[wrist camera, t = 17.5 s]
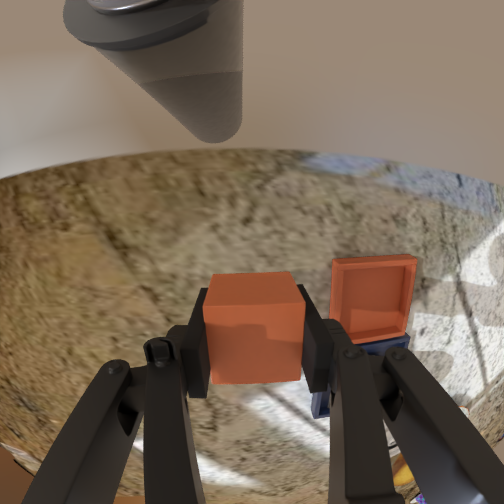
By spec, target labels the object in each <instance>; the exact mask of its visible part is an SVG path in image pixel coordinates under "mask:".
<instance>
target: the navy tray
mask: <svg viewBox="0 0 504 504" xmlns="http://www.w3.org/2000/svg"><path fill="white" fill-rule="evenodd" d="M409 340H410V336H409V335H408V334H407V333H406V332H405V335H403V336H398V337H393V338H388V339H382V340H377V341H371V342H365V343H359V344H354V345H357V346H360V347H362V348H364V349H365V350H366V352H367V354H368V355H375V356H384V355H385V351H386V350H387V349H388V348H391V347H396V346H399V347H404V348H406V349H407V348H408V344H409ZM330 392H331V388H330V385H329V383H328V387H327V391H326V392H318V393H313V398H312V406H311V411H312V415H313V418H314V419H318V418H324V417H330V408H327V406H328V401H329V397H330Z"/></svg>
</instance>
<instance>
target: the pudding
mask: <svg viewBox="0 0 504 504" xmlns="http://www.w3.org/2000/svg"><path fill="white" fill-rule="evenodd" d="M415 502H418V503H420V504H427V503H426V501H425V499H424V497H423V495H422V493H421V494H419V495H418V496H417V497H415V498H414V499H413V500H412V501H411V502H410V503H415Z"/></svg>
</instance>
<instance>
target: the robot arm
mask: <svg viewBox="0 0 504 504" xmlns="http://www.w3.org/2000/svg"><path fill="white" fill-rule="evenodd" d="M86 1H87V2H88V3H89V4H90V5H91V6H92V7H93V8H94V9H95V10H96V11H98V12H100V13H104V14H109V15H121V14H129V13H134V12H138V11H142V10H146V9H149V8H152V7H155V6H157V5H160V4H162V3H165V2H167V1H169V0H86ZM297 287H298V289H299V291H300V293H301V295H302V297H303V298H304V300H305V302H306V309H305V324H304V339H303V353H302V368H303V371H304V374H305V377H306V381H307V384H308V387H309V390H310V393H318V392H326V391H327V387H328V383H329V385H330V388H331V392H330V397H329V401H328V406H327V408H330V467H329V491H328V504H405V500H404V497H403V496H402V494H398V493H396V491H395V488H394V481H393V473H392V466H391V460H390V454H389V448H388V442H387V437H386V431H385V426H384V422H385V424H386V426H387V427H388V429H389V431H390V433H391V435H392V437H393V439H394V440H395V442H396V444H397V446H398V448H399V450H400V452H401V454H402V456H403V458H404V459H405V461H406V463H407V465H408V467H409V469H410V471H411V473H412V475H413V477H414V479H415V481H416V483H417V485H418V487H419V489H420V491H421V493H422V495H423V497H424V499H425V501H426V503H427V504H504V465H503V464H502V462H501V461H500V460H499V458H498V457H497V455H496V454H495V453H494V451H493V450H492V449H491V447H490V446H489V445H488V443H487V442H486V441H485V439H484V438H483V437H482V435H481V434H480V433H479V432H478V430H477V429H476V428H475V426H474V425H473V424H472V423H471V421H470V420H469V419H468V418H467V416H466V415H465V414H464V413H463V412H462V410H461V409H460V408H459V407H458V405H457V404H456V403H455V402H454V401H453V399H452V398H451V397H450V396H449V395H448V393H447V392H446V391H445V390H444V389H443V387H442V386H441V385H440V384H439V383H438V382H437V380H436V379H435V378H434V377H433V376H432V375H431V374H430V372H429V371H428V370H427V369H426V368H425V367H424V366H423V364H422V363H421V362H420V361H419V360H418V359H417V358H416V357H415V355H414V354H413V353H412V352H411V351H410V350H408V349H406V348H404V347H399V346H396V347H391V348H388V349H387V350H386V351H385V355H384V356H373V355H368V354H367V352H366V350H365V349H364V348H362V347H360V346H357V345H354V344H353V342H352V340H351V339H350V337H349V336H348V334H347V333H346V331H345V330H344V329H343V326H342V325H341V323H340V322H338V321H337V320H335V319H334V318H332V319H322V318H321V317H320V315H319V313H318V311H317V309H316V308H315V306H314V304H313V302H312V300H311V299H310V297H309V295H308V293H307V291H306V290H305V288H304V286H303V284H299V285H297ZM207 291H208V288H201V290H200V293H199V295H198V298H197V301H196V304H195V306H194V309H193V312H192V315H191V318H190V321H189V323H188V325H175V326H173V327H172V328H171V329H170V330H169V331H168V333H167V335H166V337H157V338H153V339H150V340H148V341H147V342H146V343H145V344H144V346H143V348H144V352H145V356H146V360H147V365H146V366H141V367H134V368H130V366H129V363H128V362H126V361H124V360H121V359H117V360H111V361H108V362H106V363H105V364H104V365H103V366H102V367H101V368H100V370H99V371H98V373H97V374H96V376H95V377H94V379H93V380H92V382H91V383H90V385H89V386H88V388H87V389H86V391H85V393H84V394H83V396H82V397H81V399H80V400H79V402H78V403H77V405H76V407H75V408H74V410H73V411H72V413H71V415H70V416H69V418H68V420H67V421H66V423H65V424H64V426H63V428H62V429H61V431H60V433H59V434H58V436H57V438H56V440H55V441H54V443H53V445H52V446H51V448H50V450H49V452H48V453H47V455H46V457H45V459H44V461H43V462H42V464H41V466H40V468H39V470H38V472H37V473H36V475H35V477H34V479H33V481H32V483H31V485H30V487H29V489H28V491H27V493H26V495H25V497H24V499H23V501H22V503H21V504H113V502H114V499H115V495H116V492H117V489H118V486H119V483H120V480H121V477H122V474H123V471H124V468H125V465H126V462H127V459H128V457H129V454H130V451H131V448H132V445H133V442H134V440H135V437H136V434H137V431H138V429H139V426H140V423H141V420H142V418H143V415H144V439H143V458H144V490H145V504H206V501H205V497H204V493H203V488H202V483H201V479H200V474H199V469H198V464H197V458H196V453H195V447H194V441H193V435H192V429H191V422H190V415H189V408H188V402H187V398H186V396H187V391H188V393H189V398H207V391H208V384H209V377H210V370H211V367H210V360H209V352H208V343H207V335H206V326H205V322H204V316H203V304H204V301H205V298H206V294H207ZM383 420H384V421H383Z"/></svg>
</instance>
